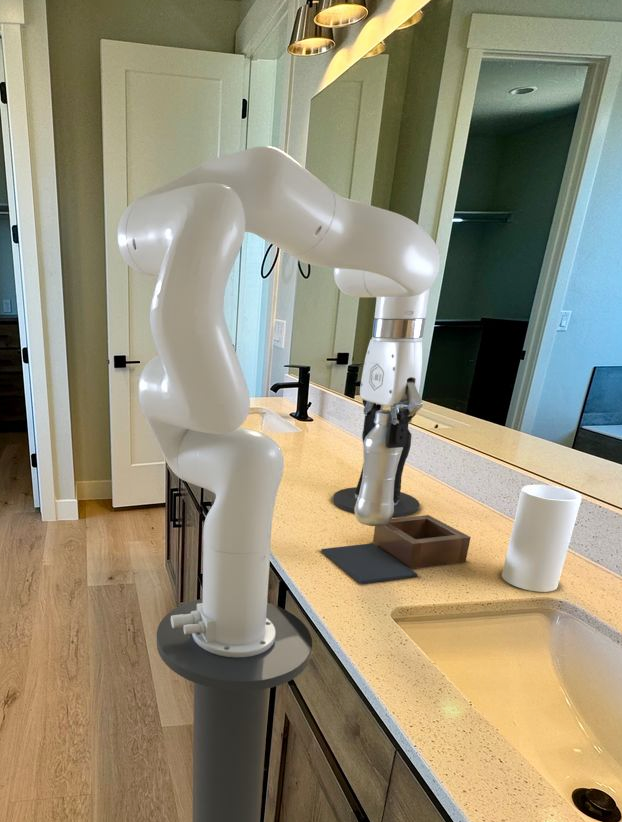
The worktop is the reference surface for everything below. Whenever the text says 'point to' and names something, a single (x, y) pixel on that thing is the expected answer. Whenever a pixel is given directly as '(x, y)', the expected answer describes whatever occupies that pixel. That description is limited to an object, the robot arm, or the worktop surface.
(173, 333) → the robot arm
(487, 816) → the worktop surface
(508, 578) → the cup
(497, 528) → the worktop surface
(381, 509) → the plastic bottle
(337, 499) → the vape
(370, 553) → the mat
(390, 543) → the brown wooden box
